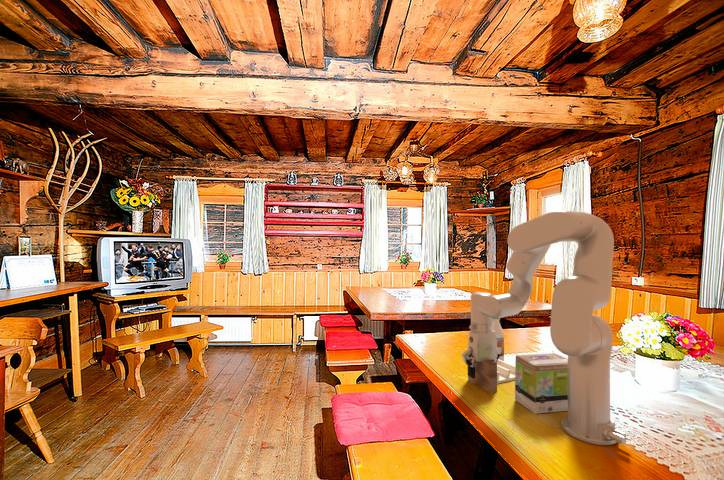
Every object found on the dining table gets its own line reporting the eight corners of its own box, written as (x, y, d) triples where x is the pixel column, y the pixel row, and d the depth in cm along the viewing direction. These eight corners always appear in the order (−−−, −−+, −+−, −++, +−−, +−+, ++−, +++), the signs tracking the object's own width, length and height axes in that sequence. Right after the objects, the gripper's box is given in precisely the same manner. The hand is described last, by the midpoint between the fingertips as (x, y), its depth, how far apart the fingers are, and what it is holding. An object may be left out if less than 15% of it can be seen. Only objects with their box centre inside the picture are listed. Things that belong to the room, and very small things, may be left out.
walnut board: (497, 391, 114) (496, 362, 114) (490, 392, 113) (490, 363, 113) (474, 379, 124) (474, 352, 124) (468, 380, 123) (468, 353, 123)
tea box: (536, 415, 98) (535, 365, 98) (514, 400, 107) (513, 354, 108) (579, 410, 101) (579, 362, 101) (554, 395, 110) (553, 351, 111)
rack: (524, 377, 125) (524, 368, 125) (496, 383, 120) (496, 374, 120) (496, 365, 138) (496, 356, 138) (470, 370, 133) (470, 361, 133)
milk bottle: (483, 361, 143) (483, 315, 143) (486, 356, 150) (486, 311, 150) (503, 364, 139) (502, 316, 139) (504, 358, 146) (504, 313, 146)
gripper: (470, 332, 112) (470, 383, 111) (508, 327, 118) (508, 374, 118) (455, 327, 119) (455, 375, 118) (492, 322, 125) (492, 367, 125)
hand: (482, 374), depth 118 cm, fingers open, 9 cm apart
